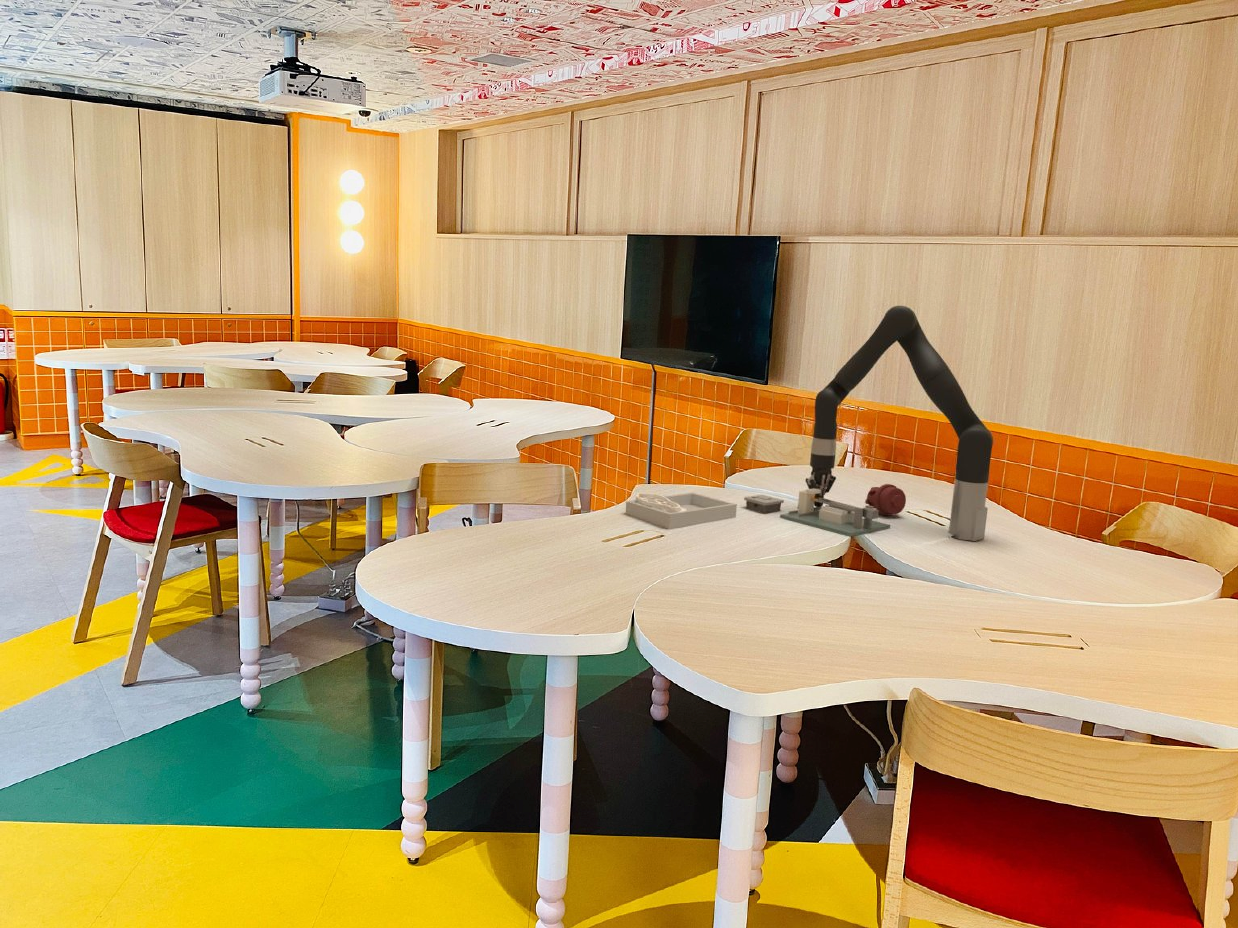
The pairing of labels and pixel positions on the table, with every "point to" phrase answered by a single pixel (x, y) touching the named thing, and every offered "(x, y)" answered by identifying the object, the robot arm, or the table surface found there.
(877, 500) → the mechanical component
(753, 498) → the electrical switch
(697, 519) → the tray
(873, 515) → the lever
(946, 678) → the table surface
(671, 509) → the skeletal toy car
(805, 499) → the cream block
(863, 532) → the board
